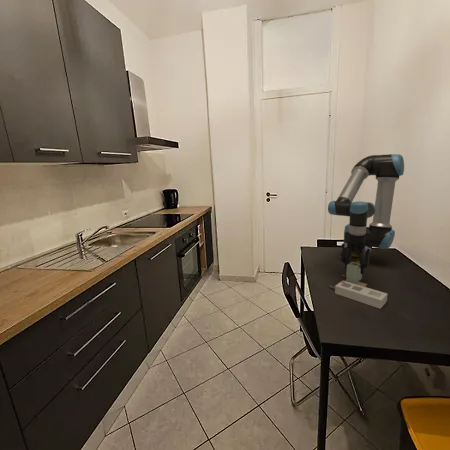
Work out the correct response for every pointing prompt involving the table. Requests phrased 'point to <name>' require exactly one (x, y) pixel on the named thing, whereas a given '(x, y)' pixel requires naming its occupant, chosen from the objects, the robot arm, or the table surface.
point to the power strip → (361, 294)
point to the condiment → (353, 260)
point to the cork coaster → (359, 283)
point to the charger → (353, 272)
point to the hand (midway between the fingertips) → (353, 277)
